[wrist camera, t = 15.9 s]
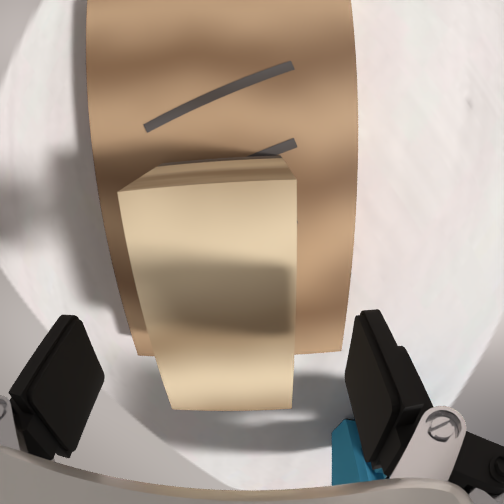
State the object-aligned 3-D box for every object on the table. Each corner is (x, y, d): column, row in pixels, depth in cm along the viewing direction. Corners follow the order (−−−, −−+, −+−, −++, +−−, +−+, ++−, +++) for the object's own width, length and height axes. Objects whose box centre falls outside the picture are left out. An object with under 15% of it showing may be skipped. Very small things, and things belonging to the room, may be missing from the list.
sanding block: (162, 163, 16) (117, 191, 10) (280, 155, 16) (296, 179, 10) (189, 337, 20) (172, 409, 15) (282, 335, 20) (291, 408, 15)
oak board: (102, -5, 13) (87, -14, 11) (337, -26, 13) (345, -39, 11) (145, 338, 23) (137, 355, 21) (335, 333, 23) (341, 351, 21)
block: (357, 448, 30) (389, 605, 11) (319, 444, 29) (342, 617, 11) (427, 377, 25) (505, 561, 7) (388, 368, 24) (464, 586, 6)
